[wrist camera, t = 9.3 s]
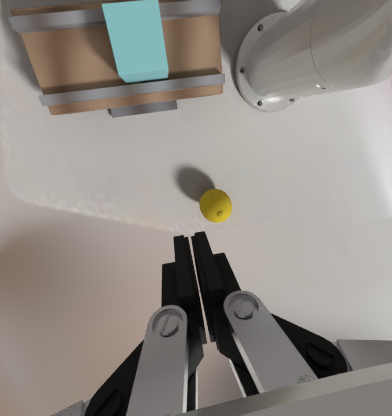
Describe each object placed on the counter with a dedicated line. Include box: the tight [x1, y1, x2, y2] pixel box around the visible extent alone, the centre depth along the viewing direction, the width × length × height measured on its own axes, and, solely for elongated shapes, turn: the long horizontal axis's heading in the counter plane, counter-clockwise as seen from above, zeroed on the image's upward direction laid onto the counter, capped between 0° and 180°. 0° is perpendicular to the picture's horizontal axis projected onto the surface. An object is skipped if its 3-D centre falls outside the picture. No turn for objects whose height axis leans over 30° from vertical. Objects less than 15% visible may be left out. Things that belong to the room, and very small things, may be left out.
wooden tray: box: [8, 0, 225, 118], centre depth 26 cm, size 22×12×7 cm, turn 97°
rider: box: [102, 0, 168, 83], centre depth 21 cm, size 5×5×5 cm
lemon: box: [200, 189, 232, 223], centre depth 36 cm, size 6×6×8 cm
